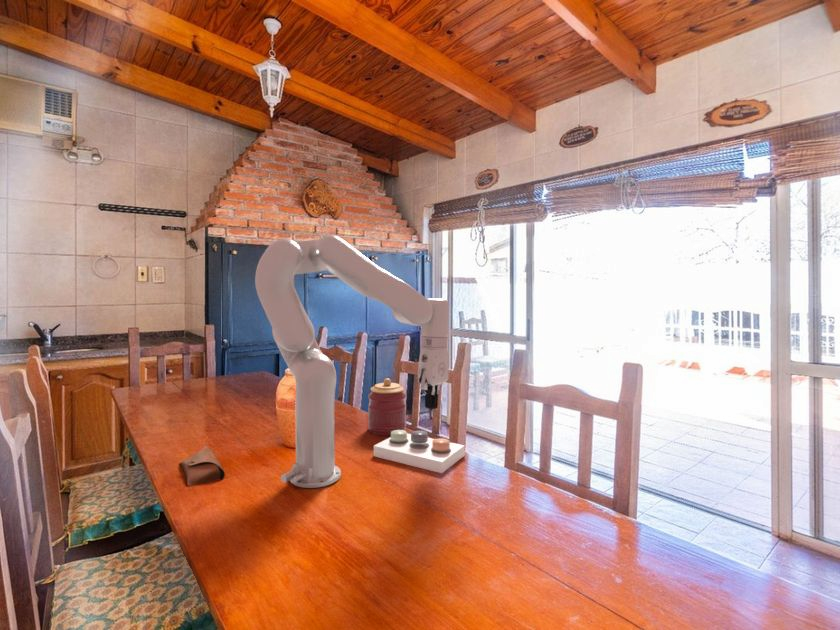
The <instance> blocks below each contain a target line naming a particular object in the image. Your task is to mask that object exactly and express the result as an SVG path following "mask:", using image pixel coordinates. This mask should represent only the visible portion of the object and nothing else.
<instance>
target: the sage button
mask: <svg viewBox="0 0 840 630" xmlns="http://www.w3.org/2000/svg"><path fill="white" fill-rule="evenodd" d="M407 434H408V432H407V430H405V431H404V430H394V431H392V432H391V435H390V437H391V441H394V442H404V441H406V440H407Z"/></svg>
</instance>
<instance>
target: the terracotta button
mask: <svg viewBox="0 0 840 630" xmlns="http://www.w3.org/2000/svg"><path fill="white" fill-rule="evenodd" d="M433 439H434V440H433V441H432V449H433V450H435V451H439V452H444V451H448V450H449V449H450V443H451V441H450V440H449V439H447V438H442V437H441V438H440V437H439V438H433Z"/></svg>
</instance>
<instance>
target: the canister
mask: <svg viewBox="0 0 840 630" xmlns="http://www.w3.org/2000/svg"><path fill="white" fill-rule="evenodd" d="M369 389H370V391H371V392H370V393H369V394H368V396H367V397H368V399H369V403H368V404H367V408H368V411H367V412H368V422H367V428H368V431H369V432H370V433H371V434H373V435H377V436H391V432H392V431H394V430H404V431H406V429H407V428H406V427H407V403H406V398H407V394H406V393H405V392H404V391H405V387H403V386H402V385H400V384H399V383H397V382H392V379H390V378H387V377H386V378H384V379H383V382H379V383H376V384H374V386H372V387H370V388H369Z"/></svg>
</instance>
